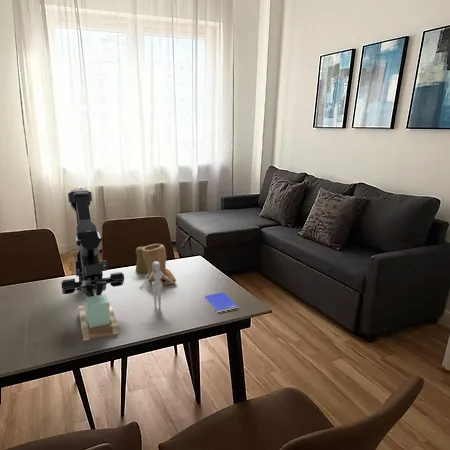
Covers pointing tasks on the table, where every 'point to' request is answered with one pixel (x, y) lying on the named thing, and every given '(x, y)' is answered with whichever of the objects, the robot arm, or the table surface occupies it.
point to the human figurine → (156, 283)
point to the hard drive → (221, 302)
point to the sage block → (97, 310)
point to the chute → (99, 330)
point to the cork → (141, 262)
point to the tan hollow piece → (158, 254)
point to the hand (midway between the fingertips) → (96, 308)
